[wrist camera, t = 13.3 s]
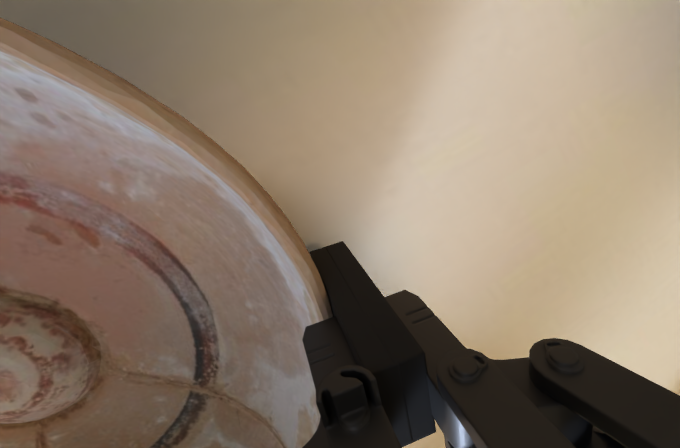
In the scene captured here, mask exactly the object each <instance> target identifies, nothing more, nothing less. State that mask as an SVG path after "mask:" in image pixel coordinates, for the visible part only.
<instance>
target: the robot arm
mask: <svg viewBox="0 0 680 448" xmlns="http://www.w3.org/2000/svg"><path fill="white" fill-rule="evenodd" d="M310 256H311V258H312V260H313V262H314V264H315V266H316V268H317V270H318V272H319V274H320V277H321V279H322V282H323V285H324V287H325V290H326V293H327V295H328V298H329V302H330V306H331V310H332V314H333V317H331V318H329V319H326V320H323V321H320V322H318V323H315V324H312V325H309V326H306V328H305V331H304V335H303V339H302V341H303V344H304V348H305V352H306V356H307V359H308V363H309V367H310V371H311V374H312V378H313V382H314V386H315V389H316V404H317V407H318V410H319V413H320V422H319V425H318V427H317V430H316V432H315V433H314V435H313V436H312V438H311V439H310V440H309V441H308V442H307V443H306V444H305V445H304V446H303V447H302V448H402V447H404V446H406V445H408V444H410V443H413V442H415V441H417V440H419V439H421V438H424V437H426V436H428V435H430V434H433V433H435V432H436V428H435V421H434V419H435V420H436V422H437V424H438V425H439V427H440V429H441V430H442V432H443V433H444V437H445V445H446V448H680V396H679V395H677V394H675V393H673V392H671V391H669V390H667V389H666V388H664V387H662V386H660V385H658V384H656V383H654V382H652V381H650V380H648V379H646V378H644V377H642V376H640V375H638V374H636V373H634V372H632V371H630V370H628V369H626V368H624V367H622V366H620V365H619V364H617V363H615V362H613V361H611V360H609V359H607V358H605V357H603V356H601V355H599V354H597V353H595V352H593V351H591V350H589V349H587V348H585V347H583V346H581V345H579V344H576V343H574V342H571V341H568V340H563V339H556V338H552V339H543V340H541V341H539V342H537V343H535V344H534V345H533V346H532V348H531V349H530V356H529V357H528V358H518V359H508V360H492V359H489V358H488V357H486V356H485V355H484V354H482V353H480V352H477V351H475V350H472V349H466V348H465V347H464V346H463V345H462V344H461V343H460V341H459V340H458V339H457V338H456V337H455V336H454V335H453V334H452V333H451V332H450V331H449V329H448V328H447V327H446V326H445V325H444V324H443V323H442V322H441V321H440V320H439V318H438V317H437V316H435V315H434V313H433V312H432V311H431V310H430V309H429V308H428V307H427V305H426V304H425V303H424V302H423V301H422V300H421V299H420V298H419V297H418V296H417V295H415V294H413V293H410V292H408V291H406V290H403V291H400V292H398V293H395V294H392V295H389V296H387V297H384V296H383V295H382V294H381V292H380V291H379V290H378V288H377V287H376V285H375V284H374V283H373V281H372V280H371V279H370V277H369V276H368V275H367V273H366V272H365V271H364V269H363V268H362V266H361V265H360V264H359V262H358V261H357V260H356V258H355V257H354V256H353V254H352V253H351V252H350V250H349V249H348V247H347V246H346V245H345V243H344V242H343V241H342V242H339V243H336V244H333V245H330V246H326V247H323V248H320V249H317V250H314V251H311V252H310Z"/></svg>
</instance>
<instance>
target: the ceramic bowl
mask: <svg viewBox="0 0 680 448" xmlns="http://www.w3.org/2000/svg"><path fill="white" fill-rule="evenodd" d="M331 317H333V314H332V310H331V306H330V302H329V298H328V295H327V293H326V290H325V287H324V285H323V282H322V279H321V277H320V274H319V272H318V270H317V268H316V266H315V264H314V262H313V260H312V258H311V256H310V254H309V252H308V250H307V249H306V247H305V245H304V243H303V241H302V240H301V238H300V237H299V235H298V233H297V232H296V230H295V229H294V227H293V226H292V224H291V222H290V221H289V220H288V218H287V217H286V216H285V214H284V213H283V212H282V211H281V209H280V208H279V207H278V205H277V204H276V203H275V202H274V200H273V199H272V198H271V196H270V195H269V194H268V193H267V192H266V191H265V190H264V189H263V187H262V186H261V185H260V184H259V183H258V182H257V181H256V180H255V179H254V178H253V177H252V176H251V175H250V174H249V172H248V171H247V170H246V169H245V168H244V167H243V166H242V165H241V164H239V163H238V162H237V161H236V160H235V159H234V158H233V157H232V156H230V155H229V154H228V153H227V152H226V151H225V150H224V149H223V148H221V147H220V146H219V145H218V144H217V143H215V142H214V141H213V140H212V139H210V138H209V137H208V136H207V135H205V134H204V133H203V132H201V131H200V130H199V129H198V128H196V127H195V126H194V125H193V124H191V123H190V122H189V121H188V120H186V119H185V118H184V117H182V116H181V115H179V114H178V113H176V112H174V111H173V110H171V109H170V108H168V107H167V106H165V105H163V104H162V103H160V102H159V101H157V100H156V99H154V98H152V97H151V96H149V95H148V94H146V93H145V92H143V91H141V90H140V89H138V88H137V87H135V86H134V85H132V84H130V83H129V82H127V81H126V80H124V79H123V78H121V77H119V76H117V75H115V74H113V73H112V72H110V71H108V70H106V69H104V68H102V67H100V66H98V65H97V64H95V63H93V62H91V61H89V60H87V59H85V58H83V57H82V56H80V55H78V54H76V53H74V52H72V51H70V50H69V49H67V48H65V47H63V46H61V45H59V44H57V43H55V42H53V41H51V40H49V39H46V38H44V37H42V36H40V35H38V34H36V33H34V32H31V31H29V30H27V29H25V28H23V27H21V26H19V25H16V24H14V23H11V22H9V21H7V20H4V19H2V18H0V448H302V447H303V446H304V445H305V444H306V443H307V442H308V441H309V440H310V439H311V438H312V436H313V435H314V433H315V432H316V430H317V427H318V425H319V422H320V413H319V410H318V407H317V404H316V389H315V386H314V382H313V378H312V374H311V371H310V367H309V363H308V359H307V356H306V352H305V348H304V344H303V341H302V339H303V335H304V331H305V328H306V326H309V325H312V324H315V323H318V322H320V321H323V320H326V319H329V318H331Z"/></svg>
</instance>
